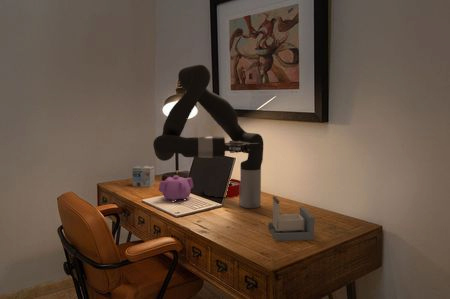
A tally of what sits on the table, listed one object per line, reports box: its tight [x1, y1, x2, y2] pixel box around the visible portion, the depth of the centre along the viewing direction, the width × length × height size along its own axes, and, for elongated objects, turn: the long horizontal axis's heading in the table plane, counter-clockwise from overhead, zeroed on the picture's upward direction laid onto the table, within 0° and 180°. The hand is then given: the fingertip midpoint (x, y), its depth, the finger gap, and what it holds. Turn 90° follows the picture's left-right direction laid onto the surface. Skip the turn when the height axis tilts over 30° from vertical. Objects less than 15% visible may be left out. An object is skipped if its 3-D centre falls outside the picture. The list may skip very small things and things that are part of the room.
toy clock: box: [225, 178, 240, 199], centre depth 206 cm, size 20×6×20 cm
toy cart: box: [272, 195, 305, 233], centre depth 144 cm, size 7×10×13 cm
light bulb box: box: [131, 165, 156, 188], centre depth 223 cm, size 11×7×11 cm, turn 81°
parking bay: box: [267, 206, 315, 242], centre depth 145 cm, size 13×14×8 cm
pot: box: [158, 175, 194, 201], centre depth 193 cm, size 18×17×12 cm
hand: (259, 146), depth 143 cm, fingers closed
